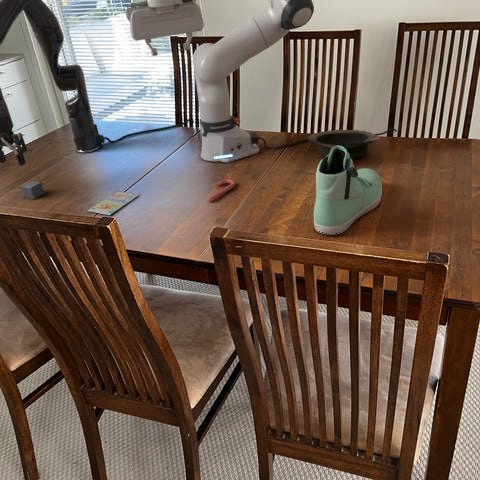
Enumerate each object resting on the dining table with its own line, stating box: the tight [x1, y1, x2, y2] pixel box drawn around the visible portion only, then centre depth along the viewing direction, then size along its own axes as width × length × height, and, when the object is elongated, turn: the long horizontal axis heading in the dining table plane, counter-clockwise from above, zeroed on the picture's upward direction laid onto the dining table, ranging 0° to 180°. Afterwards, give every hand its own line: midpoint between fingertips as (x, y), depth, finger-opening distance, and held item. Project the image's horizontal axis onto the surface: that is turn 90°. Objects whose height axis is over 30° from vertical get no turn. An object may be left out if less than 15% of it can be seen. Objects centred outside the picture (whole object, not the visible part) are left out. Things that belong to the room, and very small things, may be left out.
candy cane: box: [207, 178, 236, 203], centre depth 154 cm, size 6×15×2 cm, turn 145°
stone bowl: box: [307, 129, 380, 162], centre depth 171 cm, size 25×25×9 cm
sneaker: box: [313, 146, 383, 236], centre depth 133 cm, size 14×35×20 cm, turn 152°
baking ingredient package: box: [87, 191, 139, 216], centre depth 152 cm, size 9×1×15 cm
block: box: [21, 180, 46, 200], centre depth 161 cm, size 4×5×4 cm
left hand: (12, 163), depth 158 cm, fingers open, 8 cm apart
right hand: (171, 52), depth 135 cm, fingers open, 8 cm apart
